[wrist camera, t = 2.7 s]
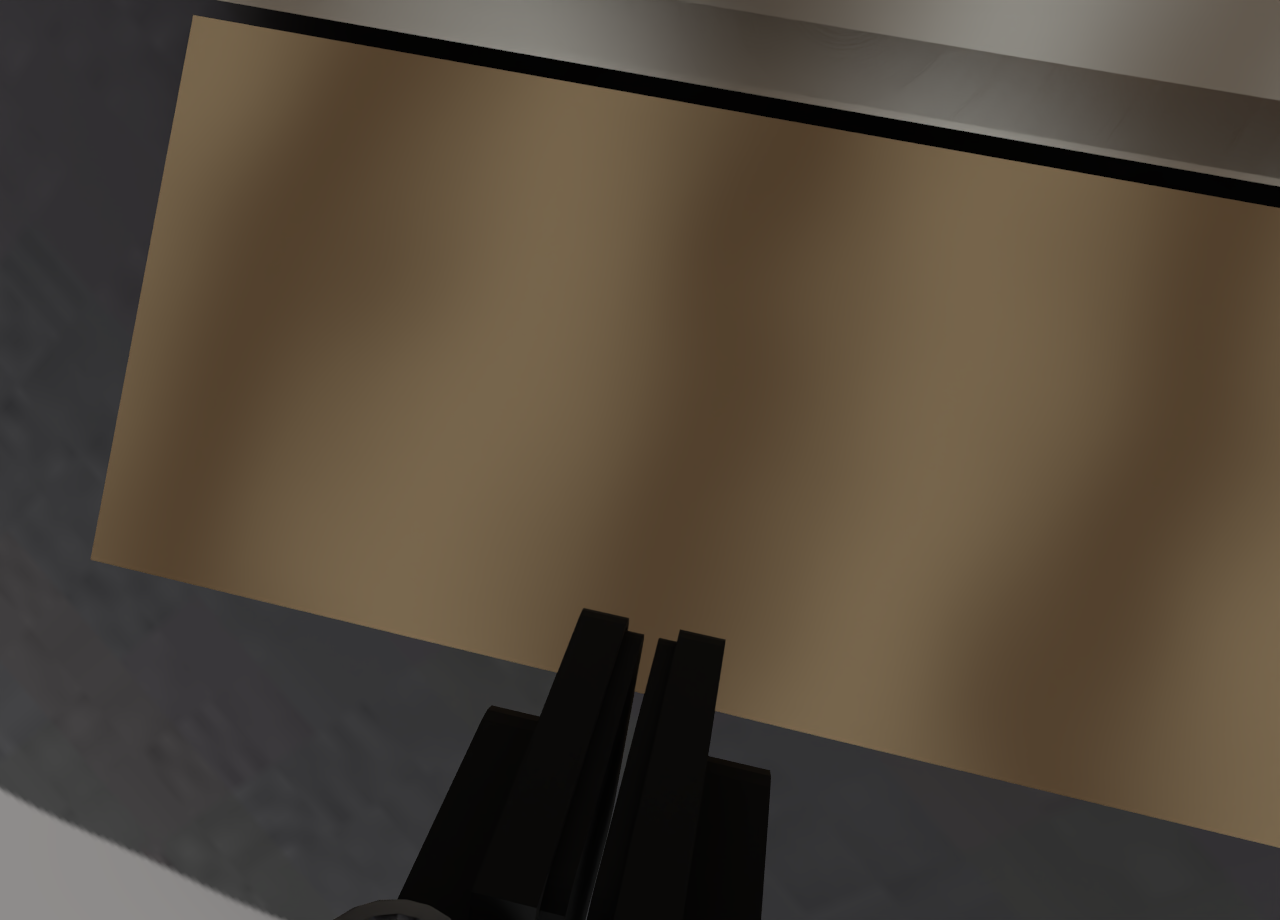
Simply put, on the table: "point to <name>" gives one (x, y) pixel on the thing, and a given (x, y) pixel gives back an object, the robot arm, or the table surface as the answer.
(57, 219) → the table surface
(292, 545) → the oak plank
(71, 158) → the table surface
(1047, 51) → the laid plank
